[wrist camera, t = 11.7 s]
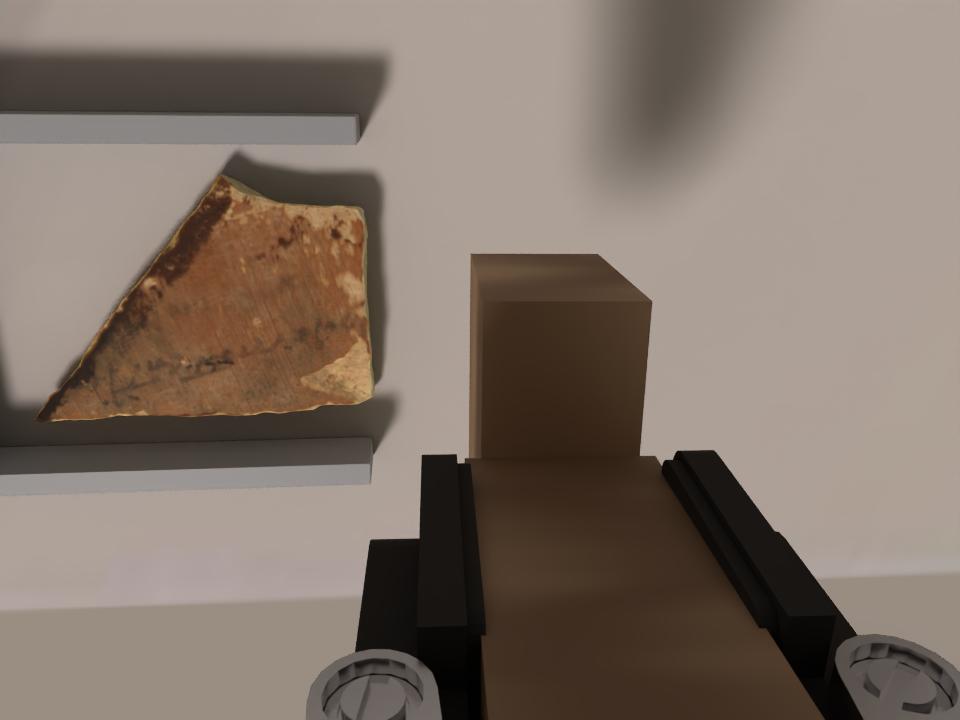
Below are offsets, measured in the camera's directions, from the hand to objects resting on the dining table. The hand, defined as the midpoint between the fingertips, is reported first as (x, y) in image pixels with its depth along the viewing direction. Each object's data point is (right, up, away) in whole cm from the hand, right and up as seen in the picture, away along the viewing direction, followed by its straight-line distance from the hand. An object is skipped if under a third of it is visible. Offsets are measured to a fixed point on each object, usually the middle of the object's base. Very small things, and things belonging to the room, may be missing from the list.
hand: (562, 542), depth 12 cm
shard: (-9, +3, +14) cm, 17 cm away
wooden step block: (0, +1, +4) cm, 5 cm away
